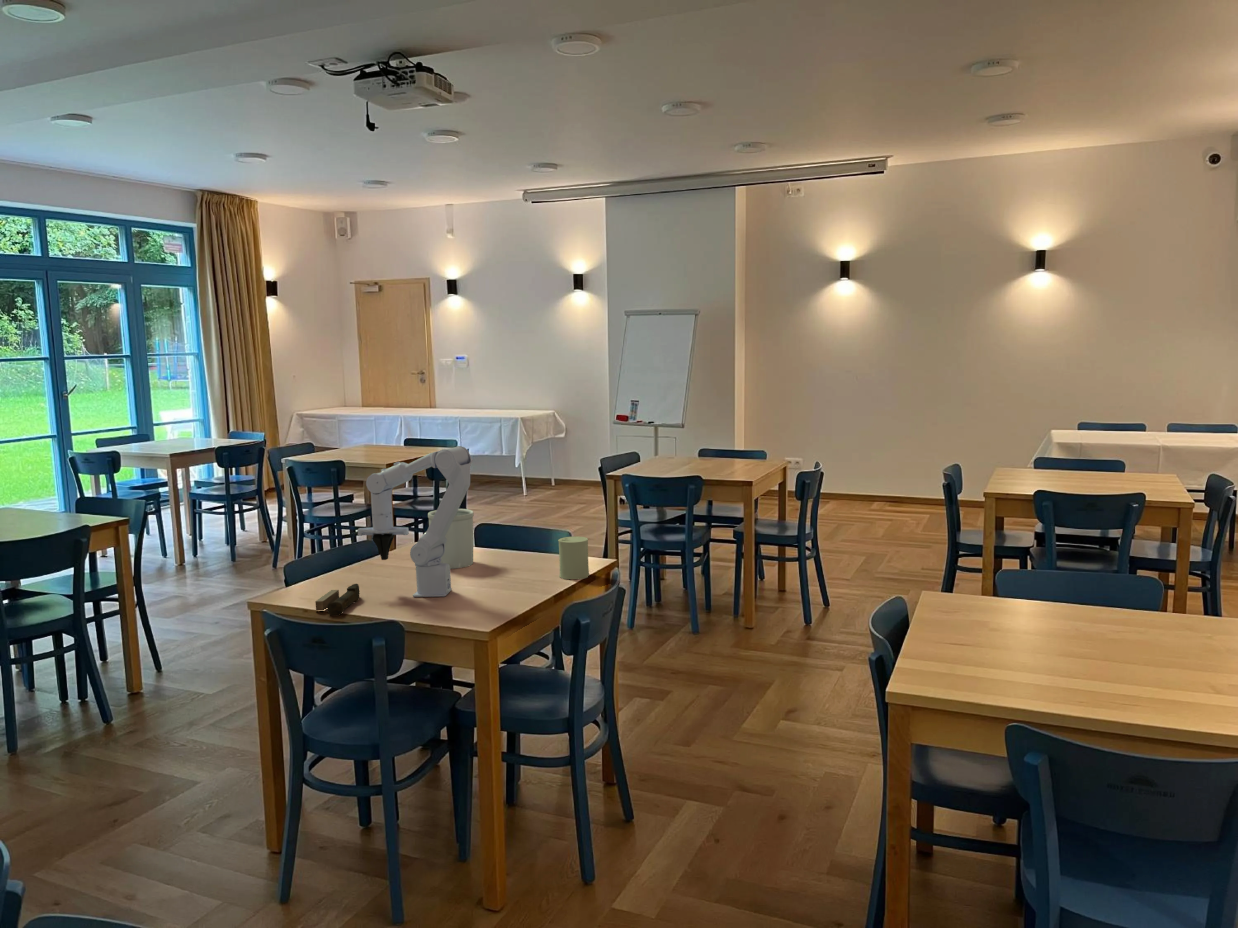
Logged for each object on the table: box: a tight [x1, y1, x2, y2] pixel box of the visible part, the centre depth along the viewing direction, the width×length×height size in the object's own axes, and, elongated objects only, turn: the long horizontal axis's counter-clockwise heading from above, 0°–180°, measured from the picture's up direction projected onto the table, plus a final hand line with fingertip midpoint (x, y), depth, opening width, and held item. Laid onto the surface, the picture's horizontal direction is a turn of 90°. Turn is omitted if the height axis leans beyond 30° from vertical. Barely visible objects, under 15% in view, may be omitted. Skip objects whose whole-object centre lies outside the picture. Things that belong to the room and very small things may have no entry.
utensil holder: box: [427, 508, 475, 570], centre depth 294 cm, size 15×15×18 cm
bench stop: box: [314, 589, 340, 611], centre depth 248 cm, size 2×12×3 cm, turn 177°
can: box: [557, 536, 590, 580], centre depth 275 cm, size 9×9×12 cm
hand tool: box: [327, 583, 361, 617], centre depth 247 cm, size 19×4×5 cm, turn 175°
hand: (384, 559), depth 262 cm, fingers closed
